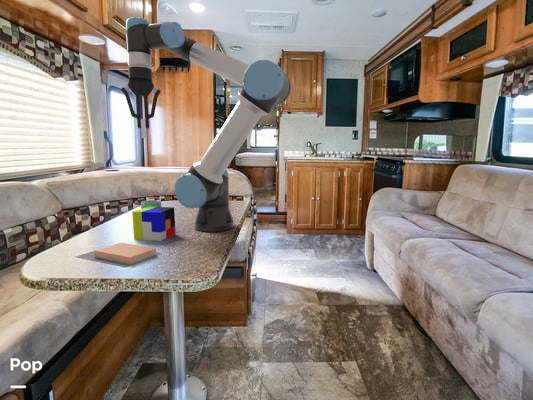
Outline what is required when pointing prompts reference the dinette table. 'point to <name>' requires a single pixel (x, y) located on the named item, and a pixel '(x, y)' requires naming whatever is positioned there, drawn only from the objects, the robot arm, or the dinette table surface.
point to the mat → (92, 257)
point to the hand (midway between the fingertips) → (144, 137)
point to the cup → (151, 203)
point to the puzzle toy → (154, 223)
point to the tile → (125, 253)
